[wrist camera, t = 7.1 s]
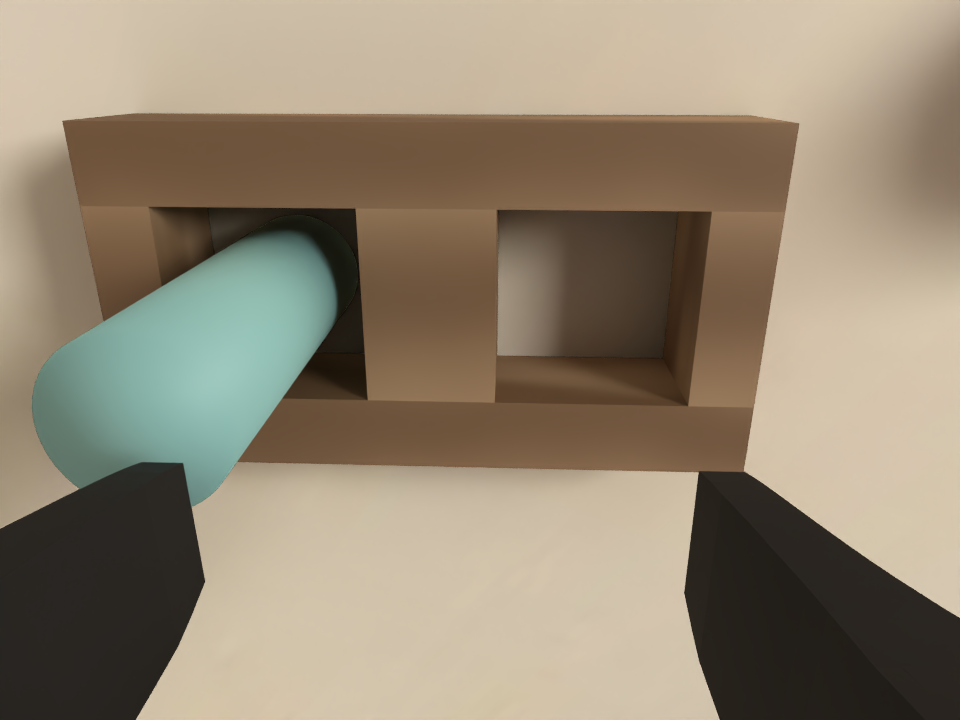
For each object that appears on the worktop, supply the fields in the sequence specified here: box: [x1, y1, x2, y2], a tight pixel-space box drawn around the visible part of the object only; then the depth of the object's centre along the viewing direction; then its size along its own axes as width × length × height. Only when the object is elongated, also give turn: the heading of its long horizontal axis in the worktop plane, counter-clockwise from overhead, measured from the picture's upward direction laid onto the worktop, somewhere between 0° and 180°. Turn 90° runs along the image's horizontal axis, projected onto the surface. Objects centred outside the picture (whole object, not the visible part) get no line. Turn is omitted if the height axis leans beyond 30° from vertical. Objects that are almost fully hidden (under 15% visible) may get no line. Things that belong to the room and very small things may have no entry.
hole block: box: [63, 114, 799, 472], centre depth 17 cm, size 8×15×3 cm, turn 90°
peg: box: [32, 215, 358, 507], centre depth 15 cm, size 3×3×9 cm
